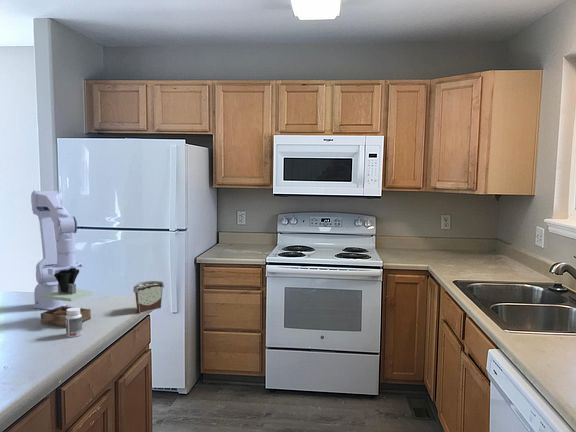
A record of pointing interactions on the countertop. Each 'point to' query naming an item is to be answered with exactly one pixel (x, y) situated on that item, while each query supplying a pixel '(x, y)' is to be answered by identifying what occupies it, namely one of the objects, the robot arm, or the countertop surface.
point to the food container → (148, 295)
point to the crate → (62, 316)
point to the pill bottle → (73, 322)
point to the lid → (67, 294)
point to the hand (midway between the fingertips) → (66, 291)
